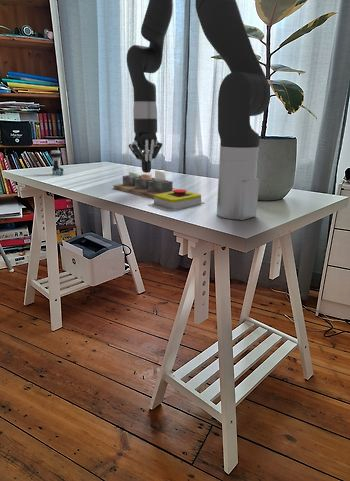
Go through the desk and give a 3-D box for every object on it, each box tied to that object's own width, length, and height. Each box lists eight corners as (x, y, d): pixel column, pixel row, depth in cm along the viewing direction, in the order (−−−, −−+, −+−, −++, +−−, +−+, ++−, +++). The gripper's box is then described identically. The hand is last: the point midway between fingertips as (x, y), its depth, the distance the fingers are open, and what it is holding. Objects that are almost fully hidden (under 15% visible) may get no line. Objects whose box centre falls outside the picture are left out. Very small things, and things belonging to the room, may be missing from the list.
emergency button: (206, 190, 99) (167, 197, 89) (206, 204, 100) (167, 213, 91) (185, 185, 105) (146, 191, 96) (184, 199, 107) (146, 206, 98)
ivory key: (167, 183, 110) (167, 171, 109) (160, 184, 108) (159, 172, 107) (160, 182, 112) (160, 169, 111) (152, 183, 110) (152, 170, 109)
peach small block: (153, 186, 116) (153, 174, 114) (146, 187, 113) (145, 175, 112) (147, 185, 118) (147, 173, 116) (139, 186, 116) (139, 174, 114)
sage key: (140, 183, 120) (140, 172, 119) (133, 184, 118) (132, 173, 117) (134, 182, 122) (134, 171, 121) (127, 183, 120) (126, 172, 119)
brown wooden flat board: (181, 193, 113) (182, 180, 111) (154, 198, 105) (154, 185, 103) (140, 184, 127) (139, 173, 126) (113, 188, 119) (112, 176, 118)
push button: (69, 174, 147) (66, 150, 144) (59, 176, 143) (56, 151, 140) (58, 173, 151) (56, 150, 147) (48, 174, 146) (46, 150, 143)
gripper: (136, 117, 101) (138, 175, 107) (168, 117, 110) (168, 171, 116) (121, 117, 106) (123, 173, 112) (153, 117, 115) (154, 169, 121)
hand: (146, 172), depth 114 cm, fingers closed
